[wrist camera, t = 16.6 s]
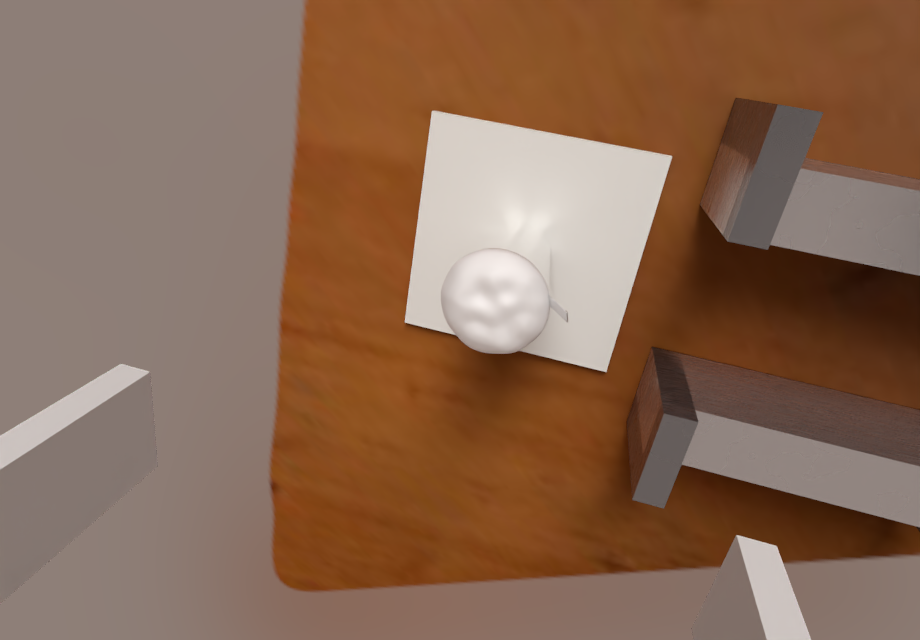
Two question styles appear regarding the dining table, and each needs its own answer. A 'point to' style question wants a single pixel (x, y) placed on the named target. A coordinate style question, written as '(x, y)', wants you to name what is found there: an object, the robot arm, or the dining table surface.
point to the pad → (538, 223)
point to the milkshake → (501, 291)
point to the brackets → (770, 397)
